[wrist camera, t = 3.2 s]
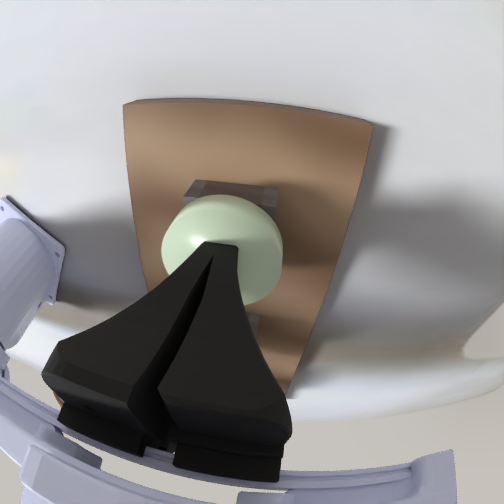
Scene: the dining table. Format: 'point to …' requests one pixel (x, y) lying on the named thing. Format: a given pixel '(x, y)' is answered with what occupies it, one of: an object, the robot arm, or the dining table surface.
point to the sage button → (229, 240)
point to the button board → (251, 194)
